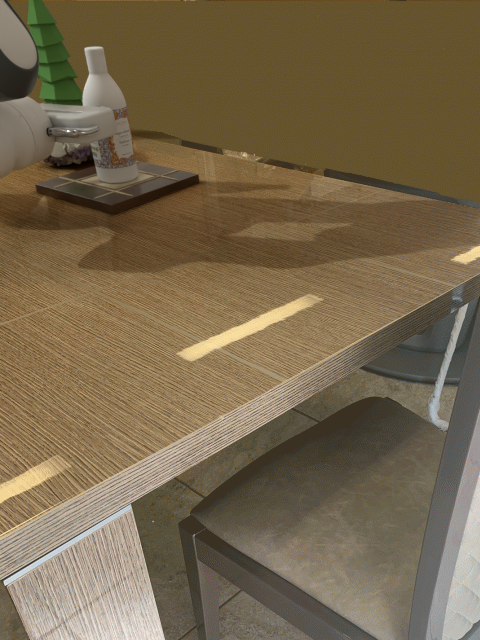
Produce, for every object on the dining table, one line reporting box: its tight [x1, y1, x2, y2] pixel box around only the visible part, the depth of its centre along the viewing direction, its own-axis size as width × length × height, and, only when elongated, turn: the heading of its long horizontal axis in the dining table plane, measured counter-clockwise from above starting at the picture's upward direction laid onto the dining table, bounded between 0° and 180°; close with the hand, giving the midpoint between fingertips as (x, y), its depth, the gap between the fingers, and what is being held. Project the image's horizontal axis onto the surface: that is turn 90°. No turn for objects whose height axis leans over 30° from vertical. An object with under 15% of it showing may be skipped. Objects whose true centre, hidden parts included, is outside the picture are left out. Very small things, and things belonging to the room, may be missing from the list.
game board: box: [34, 159, 200, 215], centre depth 114 cm, size 20×20×2 cm
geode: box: [41, 142, 94, 167], centre depth 125 cm, size 17×9×15 cm
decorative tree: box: [26, 0, 83, 106], centre depth 136 cm, size 10×9×30 cm
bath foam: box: [82, 46, 138, 183], centre depth 107 cm, size 7×7×20 cm
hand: (76, 110), depth 100 cm, fingers open, 8 cm apart
